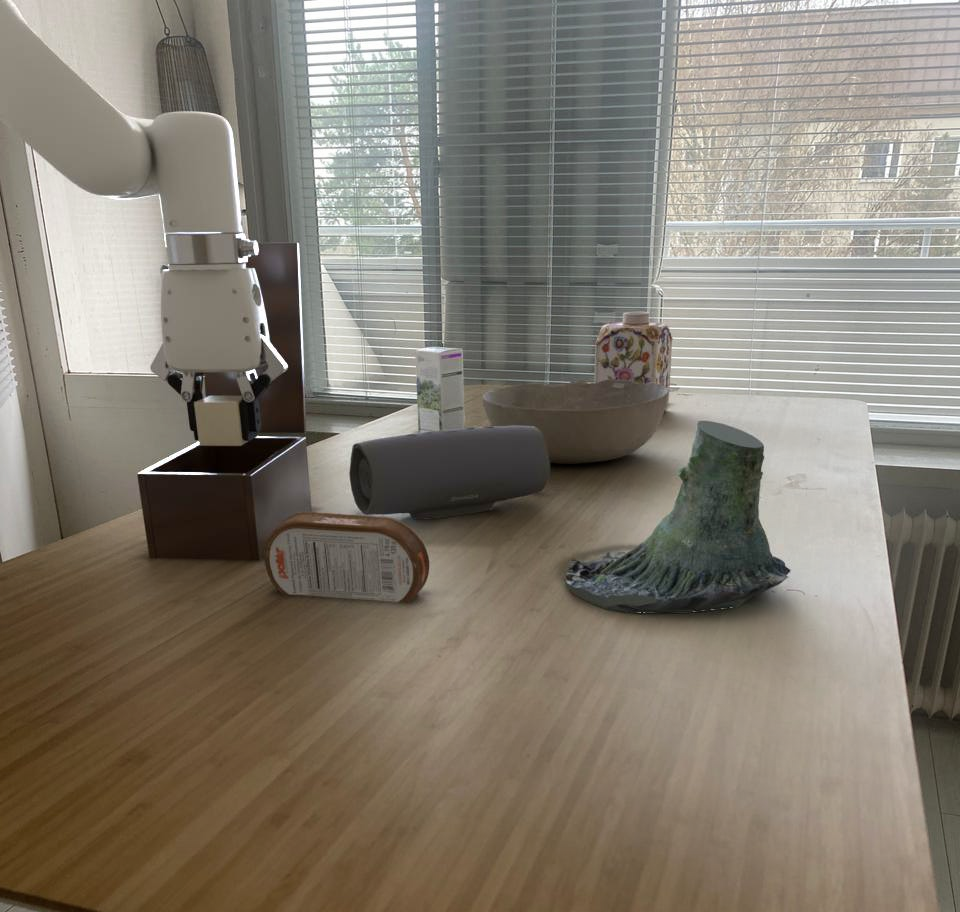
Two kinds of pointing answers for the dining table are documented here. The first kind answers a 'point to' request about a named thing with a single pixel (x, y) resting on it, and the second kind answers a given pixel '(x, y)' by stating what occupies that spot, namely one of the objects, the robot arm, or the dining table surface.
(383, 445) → the bluetooth speaker
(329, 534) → the tin
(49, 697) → the dining table surface
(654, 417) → the bowl
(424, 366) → the syrup box
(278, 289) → the lid
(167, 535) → the chest
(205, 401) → the block
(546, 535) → the dining table surface
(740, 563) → the tree stump
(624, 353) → the decorative jar
